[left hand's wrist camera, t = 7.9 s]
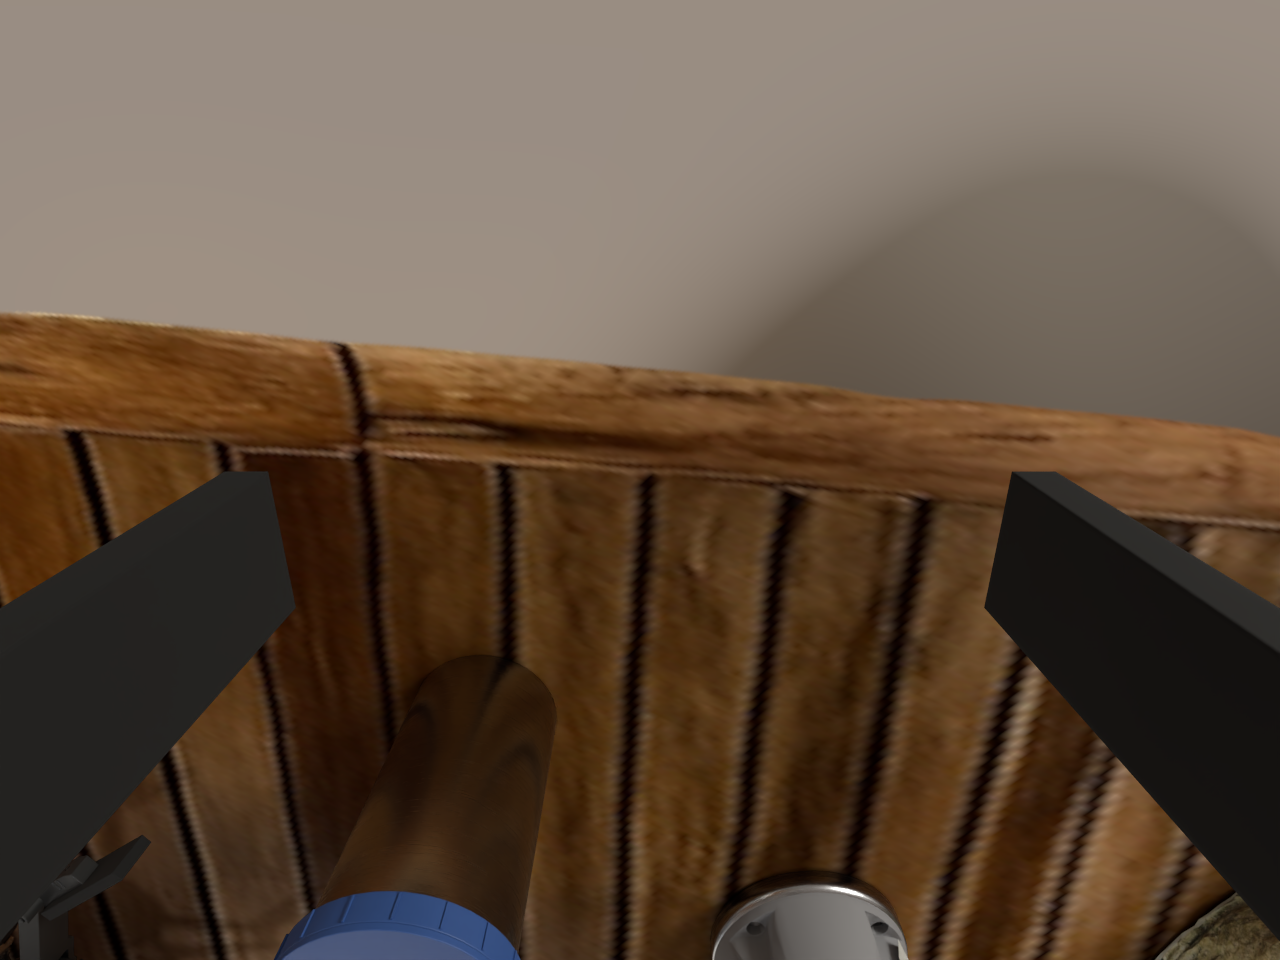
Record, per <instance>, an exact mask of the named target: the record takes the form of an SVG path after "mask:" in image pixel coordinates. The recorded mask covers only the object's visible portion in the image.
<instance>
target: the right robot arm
mask: <svg viewBox="0 0 1280 960" xmlns="http://www.w3.org/2000/svg"><path fill="white" fill-rule="evenodd" d="M150 843H151V842H150V841H149V840H148V839H147V838H145V837H144V836H143V835H141V836H140V837H138V838H136V839H134V840H133V841H131V842H129V843H128V844H126V845H124V846H122V847H121V848H119V849H117V850H115V851H114V852H112V853H110V854H109V855H107V856H105V857H103V858H102V859H100V860H98V861H97V862H95V861H94V860H93V859H91V858H90V857H89V856H80V857H78V858H76V859H74V860H73V861H71V862H70V863H69V864H68V865H67V867H66V868H65V869H64V870H63V871H62V872H61V873H60V874H59V876H58V877H57V878H56V879H55V880H54V881H53V882H52V884H51V885H50V886H49V887H48V888H47V889H46V890H45V891H44V893H43V894H42V895H41V896H40V897H39V898H38V899H37V900H36V902H35V903H34V904H33V905H32V906H31V907H30V908H29V910H28V911H27V912H26V913H25V914H24V915H23V916H22V917H21V919H20V920H19V921H18V922H17V923H16V924H15V925H14V926H13V928H12V929H11V930H10V931H9V932H8V933H7V934H6V935H5V937H4V938H3V939H2V940H1V941H0V960H11V959H10V957H9V953H10V948H9V946H10V945H11V944H12V942H13V941H14V937H13V936H10V935H11V934H12V932H13V931H14V930H15V928H16V926H17V924H18V923H19V945H20V957H19V958H17V959H15V960H77V957H76V956H74V936H70V935H68V911H69V910H71V909H72V908H74V907H76V906H78V905H79V904H81V903H83V902H85V901H86V900H88V899H90V898H92V897H93V896H95V895H97V894H99V893H101V892H102V891H104V890H106V889H108V888H109V887H111V886H113V885H115V884H116V883H118V882H120V881H122V880H123V878H124V877H125V876H126V874H127V873H128V872H129V870H130V869H131V868H132V867H133V865H134V864H135V863H136V861H137V860H138V859H139V857H140V856H141V855H142V854H143V852H144V851H145V850H146V848H147V847H148V846H149V844H150ZM81 960H82V959H81Z"/></svg>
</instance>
